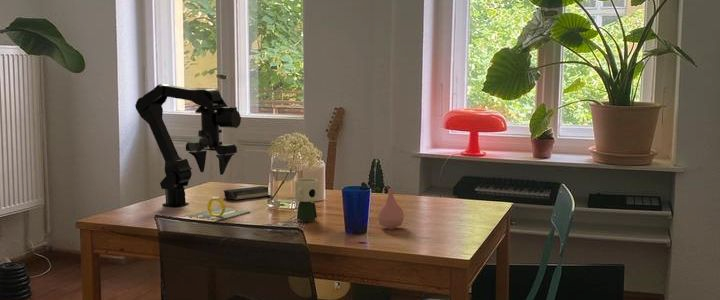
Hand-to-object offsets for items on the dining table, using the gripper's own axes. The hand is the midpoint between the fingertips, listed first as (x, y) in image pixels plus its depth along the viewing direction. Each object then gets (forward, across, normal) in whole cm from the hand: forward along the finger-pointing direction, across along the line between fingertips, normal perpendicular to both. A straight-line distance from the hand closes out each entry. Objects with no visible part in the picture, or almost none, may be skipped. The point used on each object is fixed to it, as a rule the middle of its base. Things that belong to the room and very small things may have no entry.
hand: (211, 173), depth 254 cm
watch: (+12, +11, -9) cm, 18 cm away
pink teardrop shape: (+12, +65, +9) cm, 67 cm away
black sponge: (+13, -4, +21) cm, 25 cm away
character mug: (+12, +38, +3) cm, 40 cm away
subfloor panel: (+12, +8, -9) cm, 17 cm away
